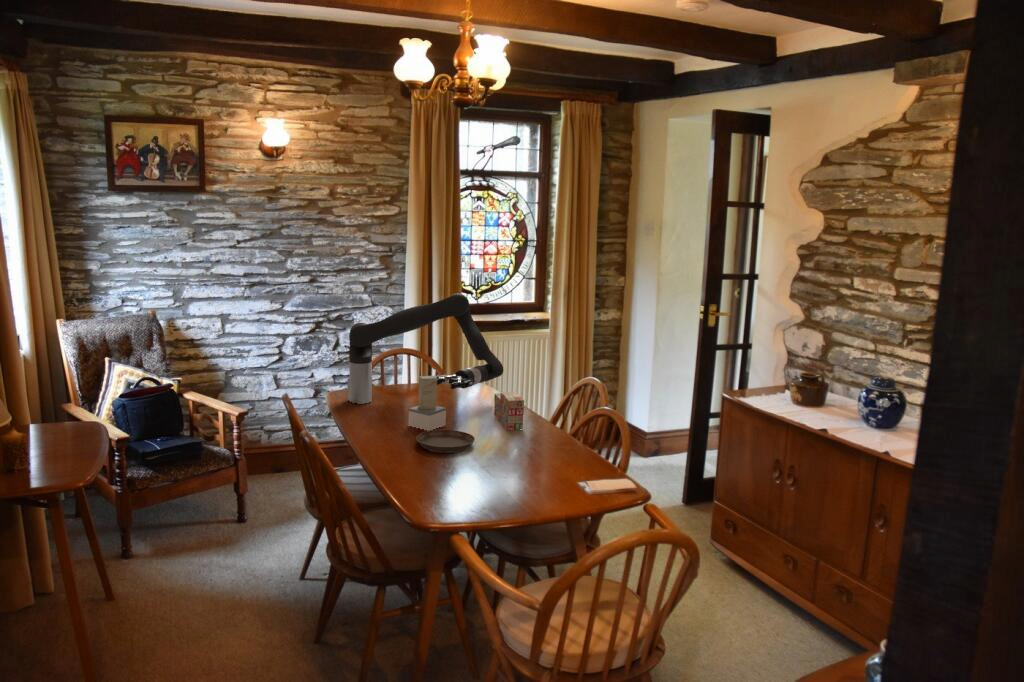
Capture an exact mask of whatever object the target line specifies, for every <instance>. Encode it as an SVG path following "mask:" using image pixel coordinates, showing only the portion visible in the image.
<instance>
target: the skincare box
mask: <svg viewBox="0 0 1024 682" xmlns="http://www.w3.org/2000/svg"><path fill="white" fill-rule="evenodd" d="M437 394H438V385H437V376H435V375H421V376H418V401H417V402H418V403H417V406H418V407H419V408H420V409H422V410H423V409H436V406H437V398H438V396H437Z"/></svg>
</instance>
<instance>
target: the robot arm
mask: <svg viewBox="0 0 1024 682" xmlns="http://www.w3.org/2000/svg"><path fill="white" fill-rule="evenodd" d="M451 317H454V319H455V320H456V322H457V323H458V325H459V326H460V329H461V331H462V333H463V335H464V337H465V339H466V341H467V344H468V346H469V348H470V350H471V351H472V353H473V356H474V357H475V360H477V361H484V362H486V363H485V364H483V365H476V366H471V367H466V368H463V369H459V370H457V371H456V372H455V374H452V375H448V374H445V373H444V374H442V375H438V376H436V377H437V386H439V385H443V384H444V385H445V386H450V389H451V390H454V389H455V390H456V389H464V390H465V389H467V388H470V387H472V386H475V385H477V384H481V383H484V382H488V381H491V380H493V379H495V378H499V377H502V375H503V373H504V366H503V364H502V362H501V361H500V359H499V358H498V357H497V356H496V355H495V354H494V352H492V351H491V349H490V346H489V345H488V343H487V341H486V339H485V337H484V336H483V334H482V331H480V329H479V328H478V326H477V324H476V322H475V321H474V318H473V316H472V313H471V311H470V301H469V299H468V297H467V296H466V295H465V294H463V293H453V294H451V295H450V296H448V297H446V298H445V297H444V298H443V299H441V300H438V301H436V302H433V303H425V304H421V305H417V306H412V307H409V308H405V309H402V310H400V311H396V312H395V313H392V314H391V315H389V316H387V317H385V318H383V319H381V320H379V321H375V322H372V323H365V322H357V323H355V324H353V325H352V326H351V327H350V330H349V333H348V336H349V337H348V338H349V357H348V358H349V365H348V367H349V369H348V371H349V375H348V376H349V378H347V401H348V400H349V401H350V402H349V401H348V402H349V403H351V402H352V403H351V404H354V403H357V404H356V405H365V403H366V404H369V402H370V403H372V389H373V388H372V387H373V385H372V384H373V372H372V371H373V343H375V342H377V341H378V342H379V341H380V340H383V339H386V338H389V337H393V336H397V335H402V334H405V333H408V332H412V331H415V330H419V329H421V328H422V327H425V326H428V325H430V324H432V323H434V322H436V321H439V320H442V319H446V318H451Z"/></svg>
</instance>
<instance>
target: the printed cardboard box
mask: <svg viewBox="0 0 1024 682" xmlns="http://www.w3.org/2000/svg"><path fill="white" fill-rule="evenodd" d="M493 401H494V413H493V415H494V417H495V416H496V417H497V418H496V417H495V418H496V419H497V421H498V422H499V421H500V422H501V423H502V424H503V425H502V424H501V423H500V422H499V423H500V424H501V425H502V427H503V428H504V427H505V428H504V429H505V430H506V431H507V432H511V431H510V430H515V431H521V430H520V429H522V430H523V428H524V427H523V426H524V425H523V424H524V422H523V421H524V410H525V407H524V406H525V400H524V399H523V397H522V396H521V395H519V394H518V392H516V391H501V392H500V393H494V398H493Z"/></svg>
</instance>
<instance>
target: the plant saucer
mask: <svg viewBox="0 0 1024 682" xmlns="http://www.w3.org/2000/svg"><path fill="white" fill-rule="evenodd" d="M415 438H416V439H415V440H416V441H417V443H418V444H419V445H420V447H422V448H423V449H424V450H426V449H427V451H429V452H433V453H440V454H450V453H451V454H453V453H458V452H459V453H460V452H463V451H465V450H467V449H468V448H470V447H471V446H472V444H473V443H474V442H475V440H476V438H475V436H474V435H472V434H470V433H468V432H465V431H461V430H454V429H434V430H431V431H426V430H425V431H423V432H420V433H419V434H417V436H416V437H415Z"/></svg>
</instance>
